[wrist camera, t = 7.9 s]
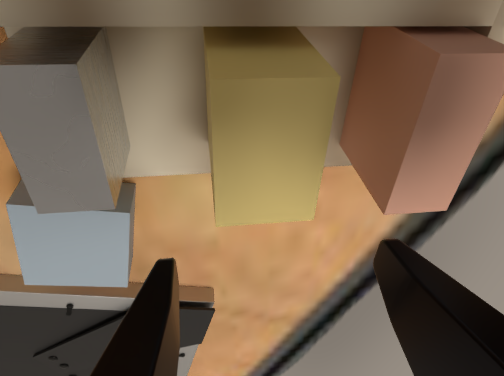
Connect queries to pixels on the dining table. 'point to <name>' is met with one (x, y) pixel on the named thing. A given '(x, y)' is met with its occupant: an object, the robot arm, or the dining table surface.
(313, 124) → the olive yellow block
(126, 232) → the blue book lying
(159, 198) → the dining table surface
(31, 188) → the bookend
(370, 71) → the salmon pink box
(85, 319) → the picture frame
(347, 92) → the shelf tray
